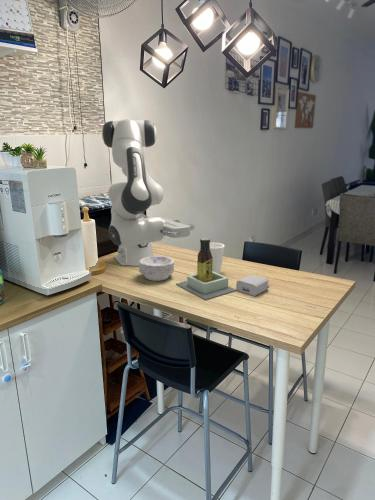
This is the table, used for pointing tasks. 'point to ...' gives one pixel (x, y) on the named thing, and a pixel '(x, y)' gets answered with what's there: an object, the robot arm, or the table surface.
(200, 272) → the sauce bottle
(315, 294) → the table surface
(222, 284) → the bottle holder
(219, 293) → the mat
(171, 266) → the paper bowls
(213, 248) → the foam cup
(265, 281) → the charger
